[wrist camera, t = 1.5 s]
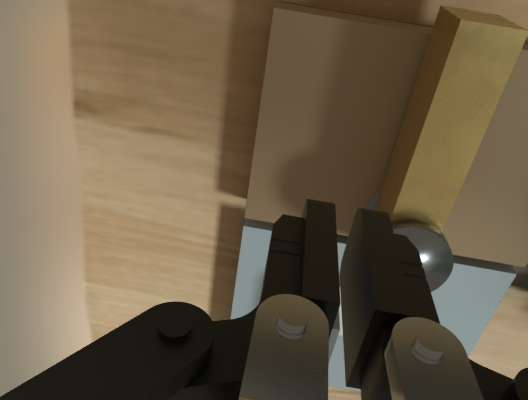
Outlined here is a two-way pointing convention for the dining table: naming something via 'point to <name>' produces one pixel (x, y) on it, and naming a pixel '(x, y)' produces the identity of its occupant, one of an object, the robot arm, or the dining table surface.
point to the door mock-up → (377, 159)
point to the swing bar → (446, 127)
